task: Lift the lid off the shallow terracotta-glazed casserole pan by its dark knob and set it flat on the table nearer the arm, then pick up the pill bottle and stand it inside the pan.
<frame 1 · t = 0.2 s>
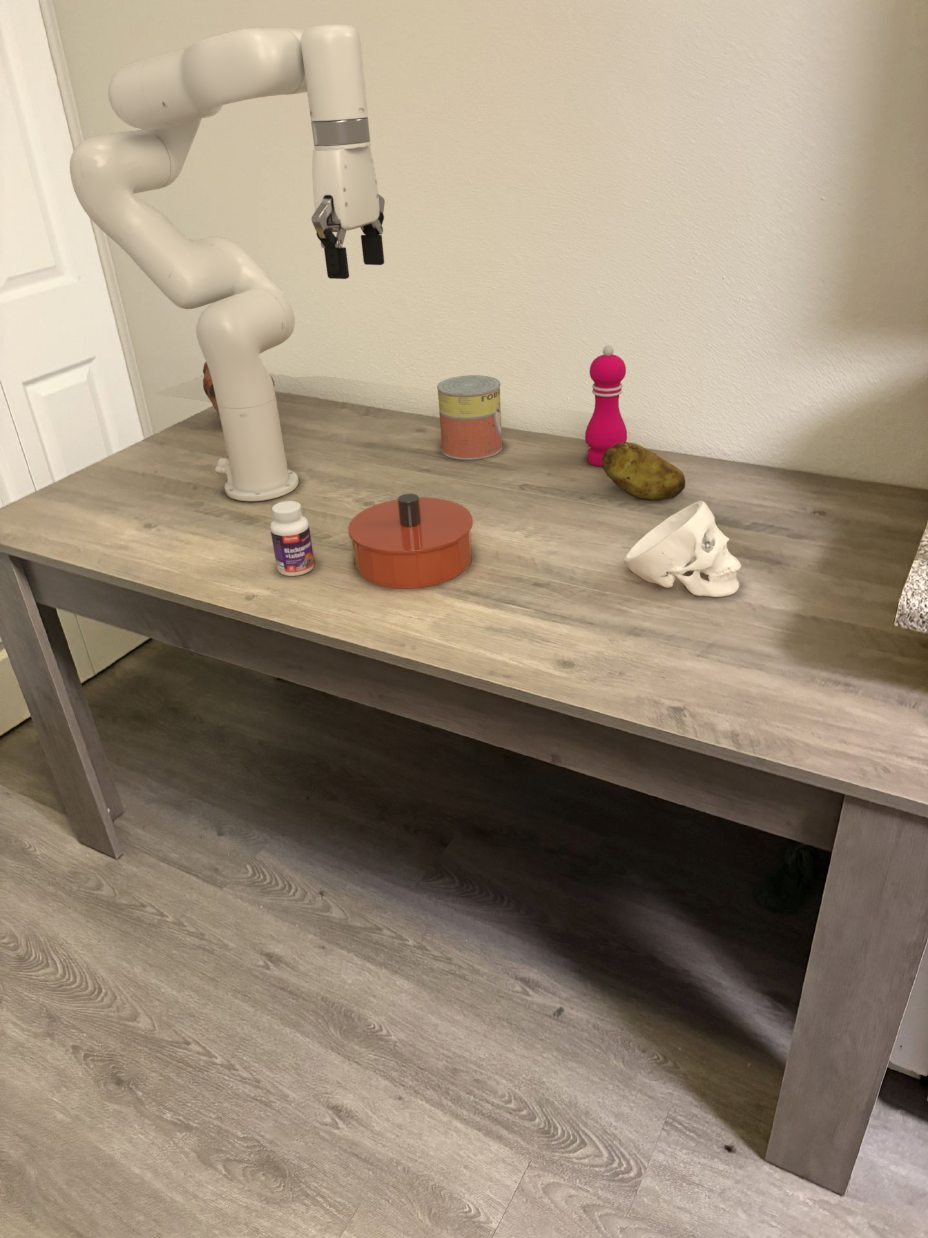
hand: (356, 270, 130), 37 cm above the table, tool pointing down, fingers open, 9 cm apart
potato: (641, 495, 148), on the table
canned food: (472, 449, 170), on the table
lid: (410, 525, 130), point 5 cm above the table, touching pot
skull bowl: (680, 582, 123), on the table
pepper mill: (605, 461, 161), on the table
decorative planter: (242, 423, 190), on the table
pill bottle: (296, 569, 133), on the table
pot: (413, 560, 133), on the table
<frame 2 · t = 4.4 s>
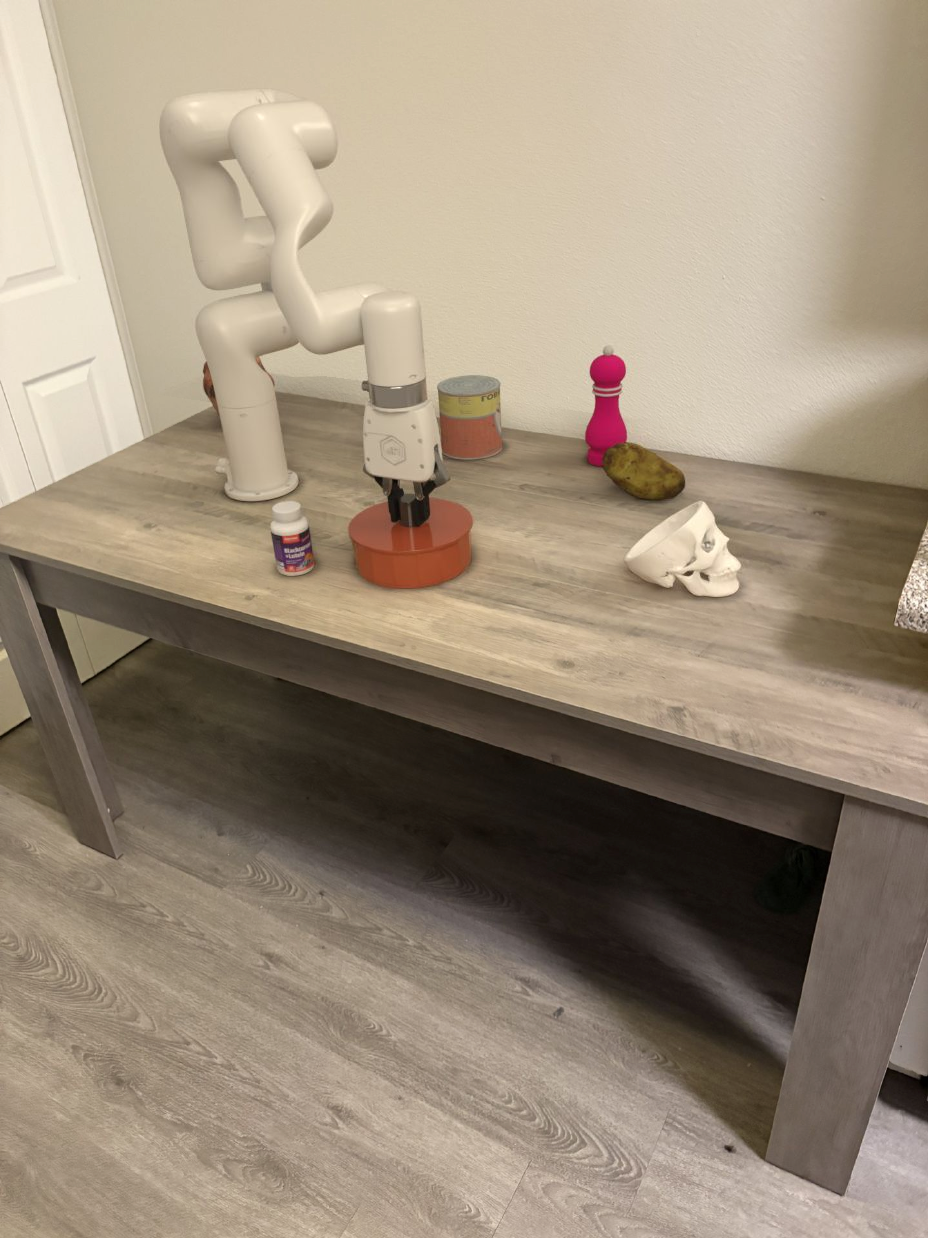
hand: (410, 519, 129), 7 cm above the table, tool pointing down, fingers closed on lid, 3 cm apart
lid: (410, 525, 130), point 6 cm above the table, touching gripper, pot
everything else where it was.
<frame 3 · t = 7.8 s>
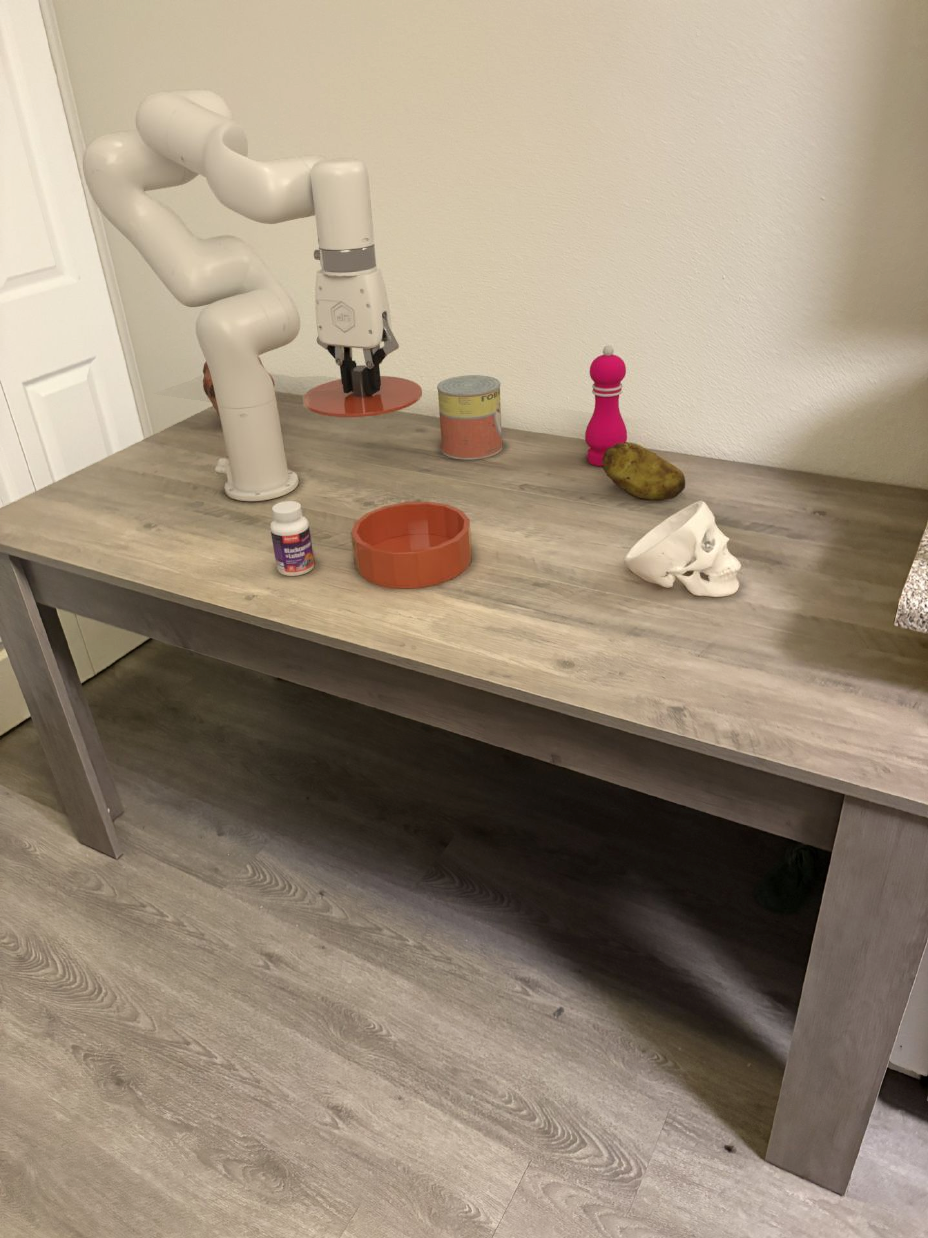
hand: (362, 390, 135), 21 cm above the table, tool pointing down, fingers closed on lid, 3 cm apart
lid: (362, 396, 136), point 20 cm above the table, touching gripper
everything else where it was.
when the fingers open (2 cm above the table, at t = 11.7 s): lid stays where it is, point 1 cm above the table.
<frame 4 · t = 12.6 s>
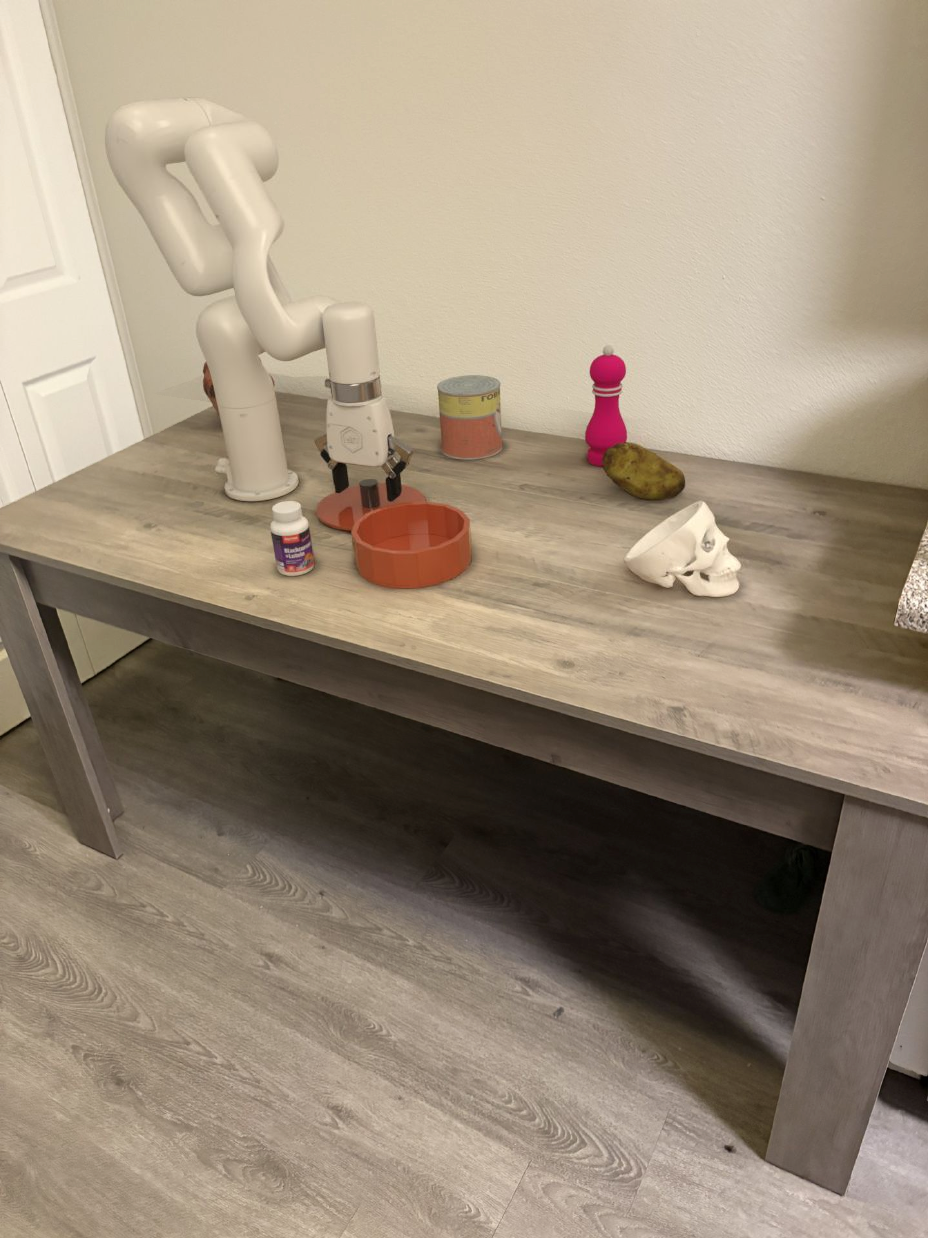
hand: (368, 494, 147), 3 cm above the table, tool pointing down, fingers open, 9 cm apart
lid: (371, 507, 148), point 1 cm above the table
everything else where it was.
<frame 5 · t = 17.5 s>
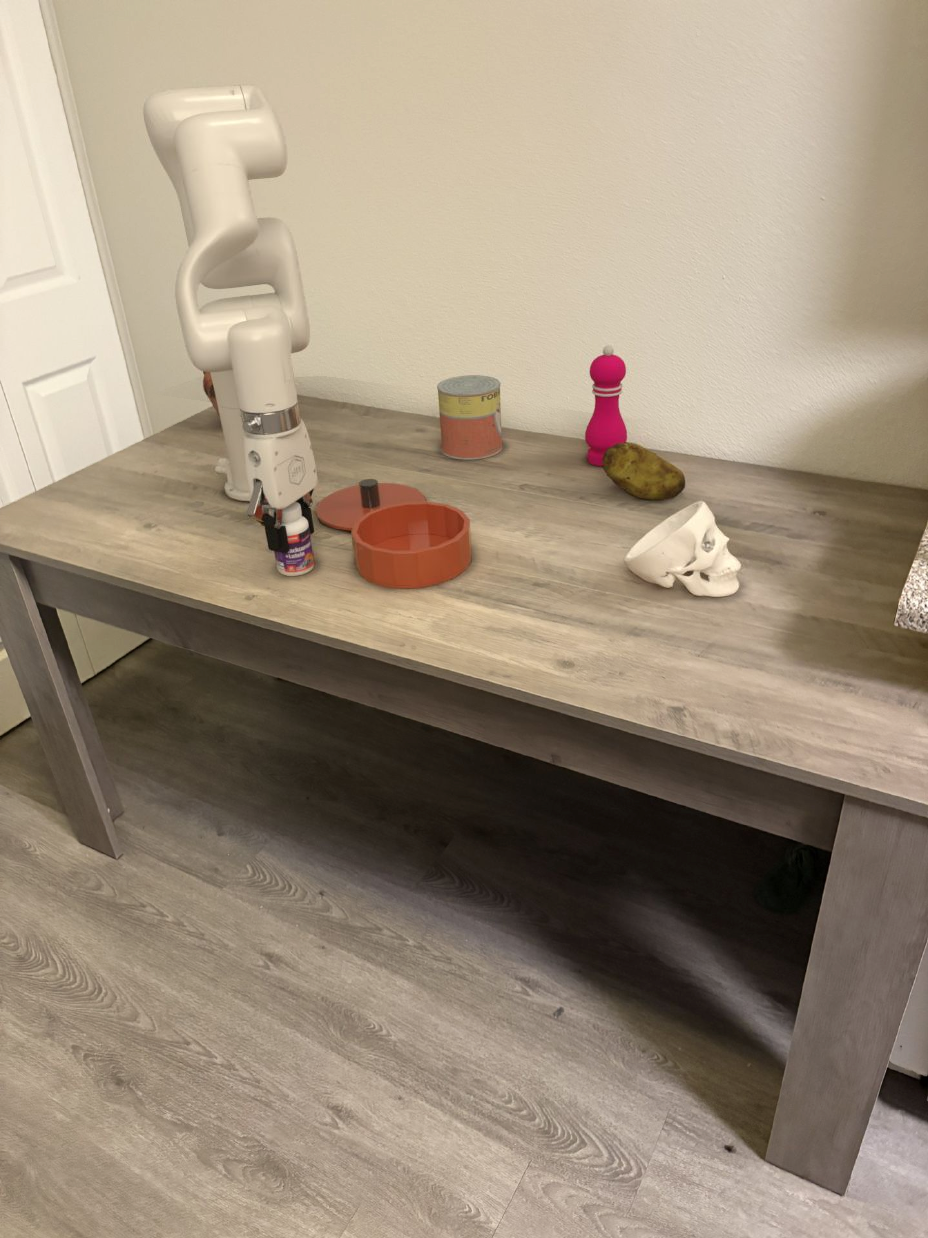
hand: (291, 540, 130), 4 cm above the table, tool pointing down, fingers closed on pill bottle, 5 cm apart
pill bottle: (296, 569, 133), on the table, touching gripper
everything else where it was.
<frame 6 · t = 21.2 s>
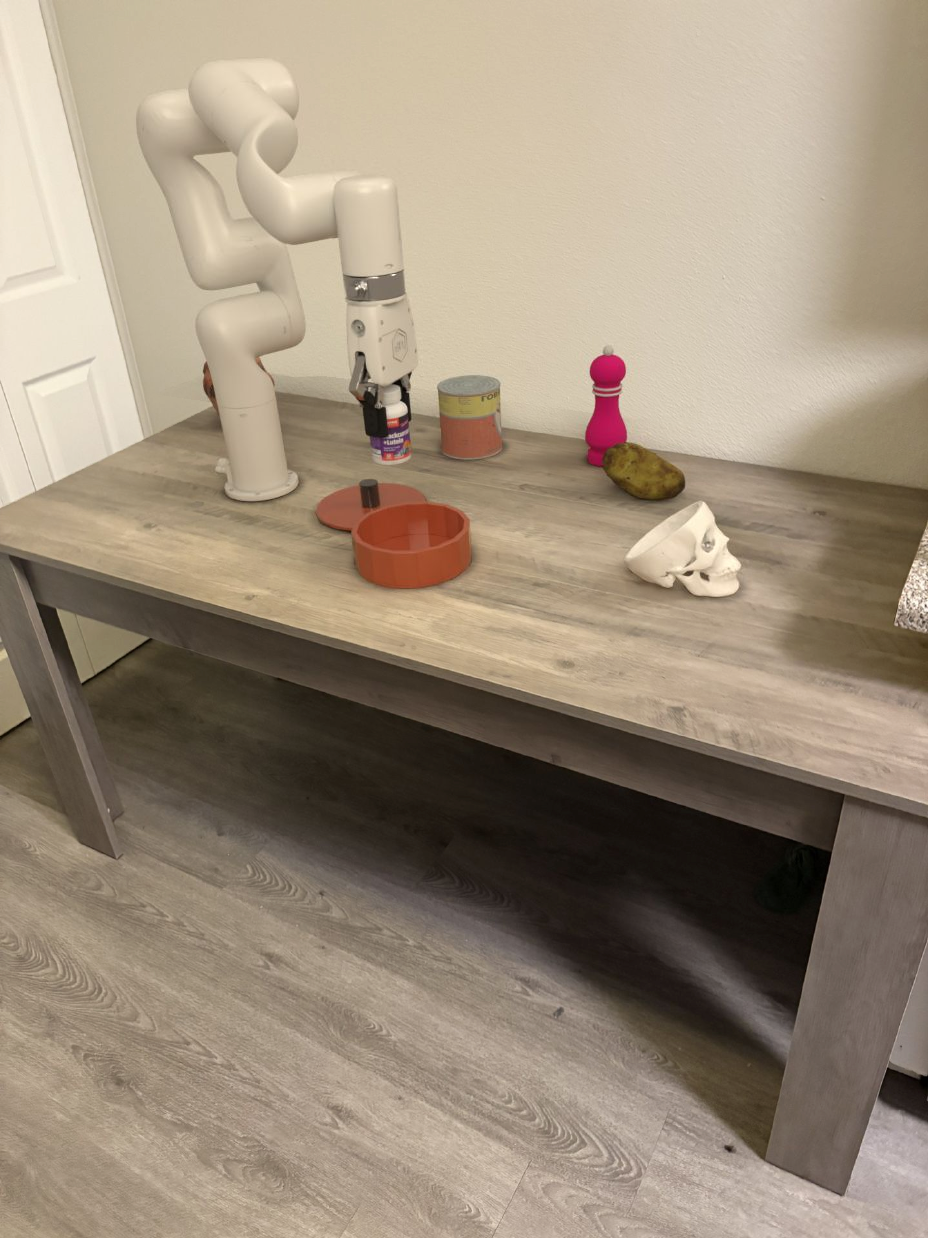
hand: (388, 426, 122), 20 cm above the table, tool pointing down, fingers closed on pill bottle, 5 cm apart
pill bottle: (392, 460, 125), point 15 cm above the table, touching gripper
everything else where it was.
when the fingers open (5 cm above the table, at t = 24.9 s): pill bottle stays where it is, resting on pot.
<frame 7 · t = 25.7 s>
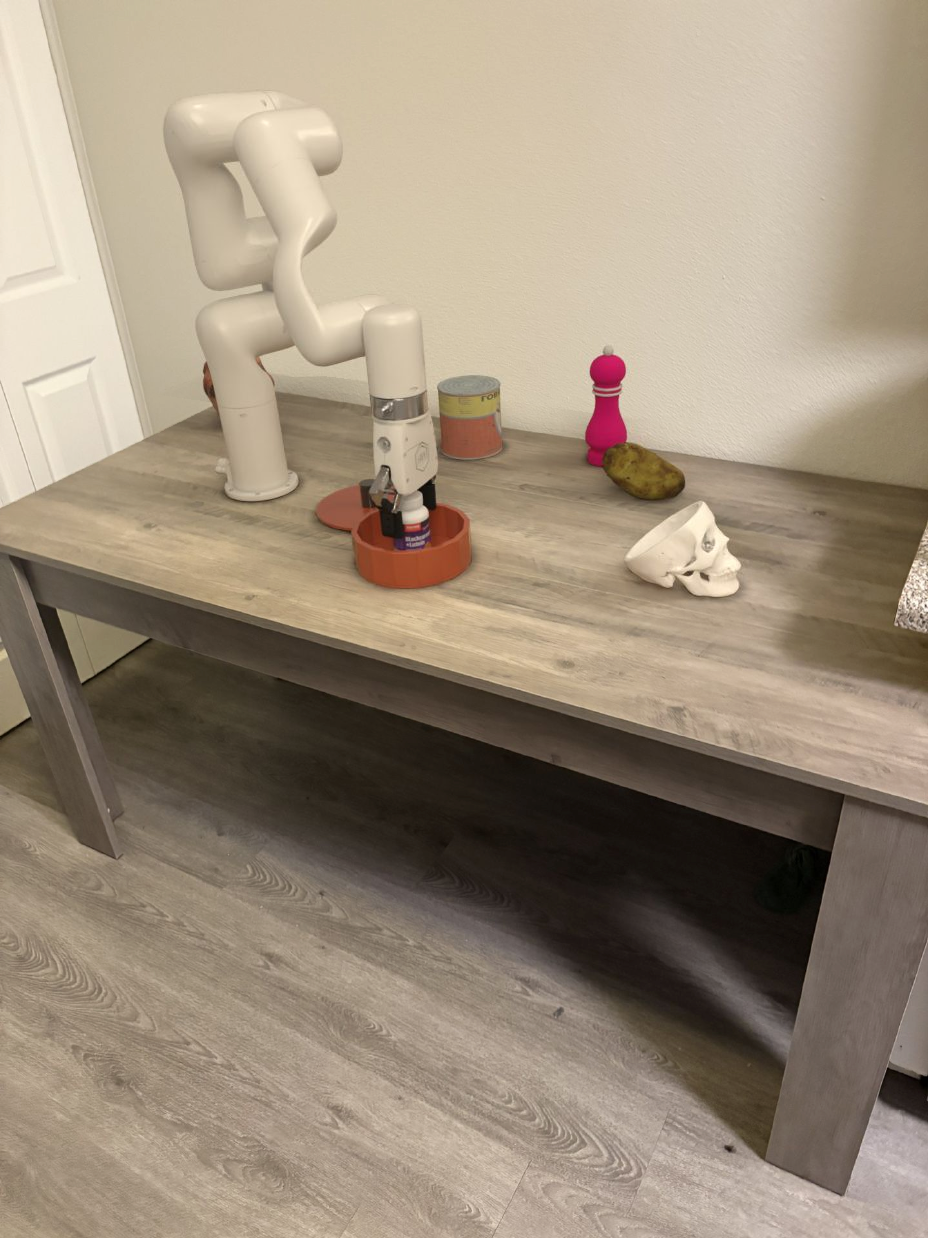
hand: (410, 522, 130), 6 cm above the table, tool pointing down, fingers open, 9 cm apart
pill bottle: (413, 558, 133), resting on pot
everything else where it was.
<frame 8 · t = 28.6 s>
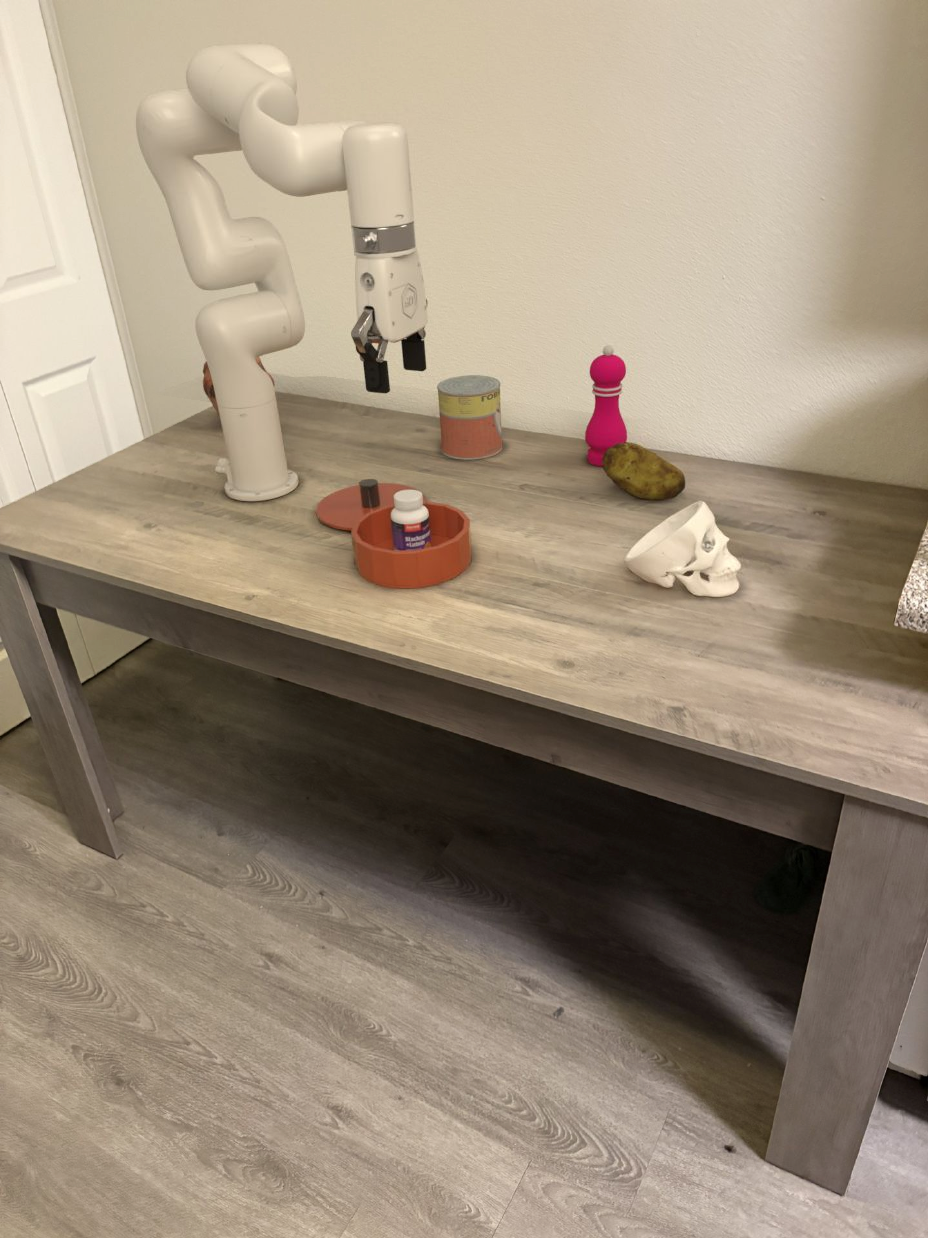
hand: (397, 380, 119), 26 cm above the table, tool pointing down, fingers open, 9 cm apart
nothing on the table moved.
at the end: lid inside the target area (0.2 cm from its centre), point 0.6 cm above the table; pill bottle inside the target area in the pot (0.0 cm from its centre), point 0.3 cm above the pot's base; pill bottle tilted 0° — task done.
